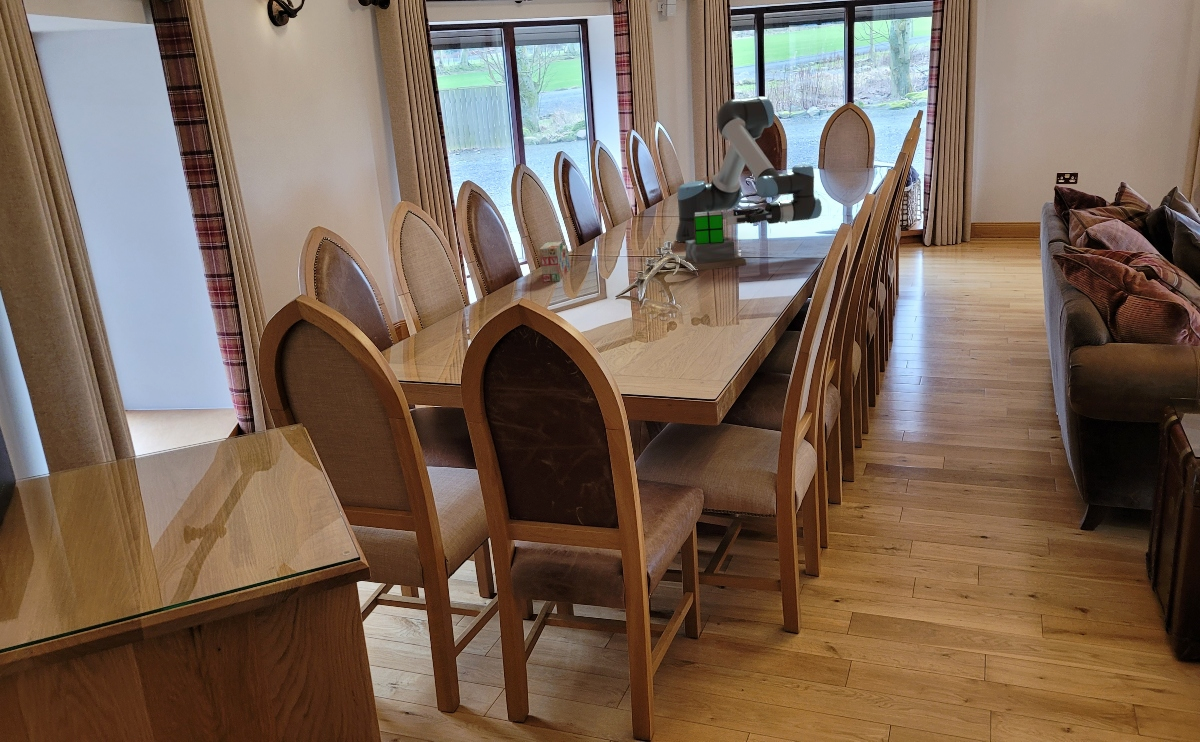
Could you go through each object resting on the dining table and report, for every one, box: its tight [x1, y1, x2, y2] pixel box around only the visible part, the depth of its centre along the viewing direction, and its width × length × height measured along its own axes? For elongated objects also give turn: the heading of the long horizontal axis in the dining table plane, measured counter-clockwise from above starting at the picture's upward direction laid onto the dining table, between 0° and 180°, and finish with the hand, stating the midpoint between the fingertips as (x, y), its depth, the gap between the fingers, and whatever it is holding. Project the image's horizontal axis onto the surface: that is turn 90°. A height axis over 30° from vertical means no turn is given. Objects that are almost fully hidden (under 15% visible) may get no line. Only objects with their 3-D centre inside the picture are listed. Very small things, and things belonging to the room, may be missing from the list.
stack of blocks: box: [539, 241, 571, 282], centre depth 338 cm, size 21×6×12 cm, turn 172°
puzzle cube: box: [694, 210, 725, 244], centre depth 333 cm, size 10×10×10 cm
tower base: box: [678, 237, 747, 271], centre depth 336 cm, size 20×20×8 cm
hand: (721, 218), depth 333 cm, fingers open, 13 cm apart
